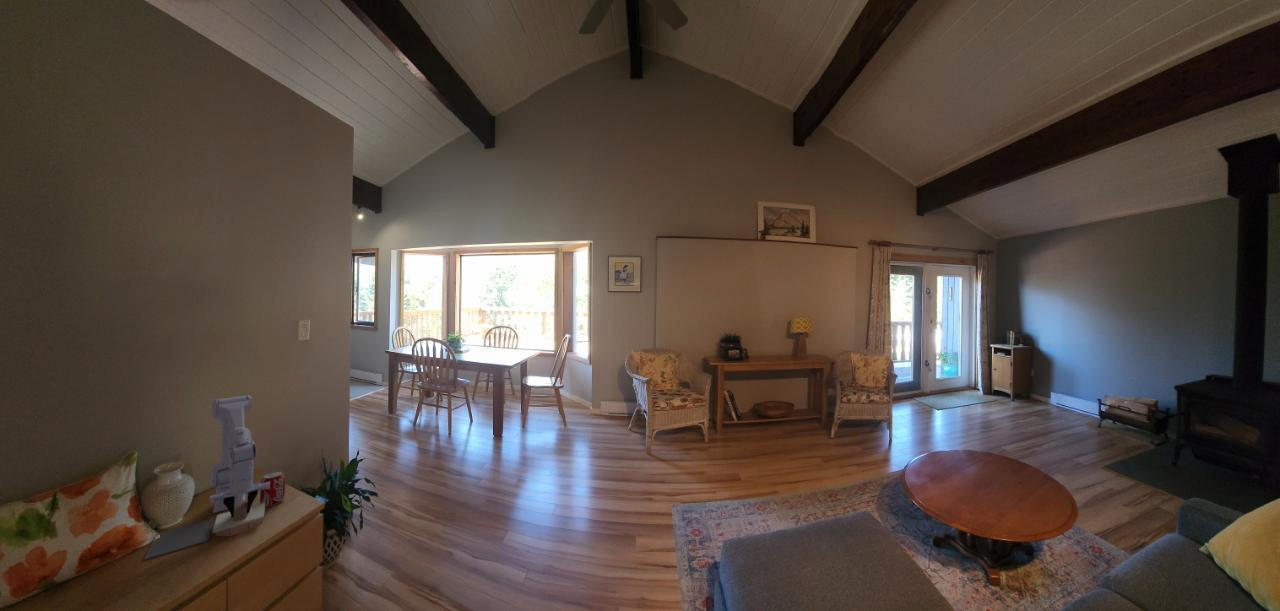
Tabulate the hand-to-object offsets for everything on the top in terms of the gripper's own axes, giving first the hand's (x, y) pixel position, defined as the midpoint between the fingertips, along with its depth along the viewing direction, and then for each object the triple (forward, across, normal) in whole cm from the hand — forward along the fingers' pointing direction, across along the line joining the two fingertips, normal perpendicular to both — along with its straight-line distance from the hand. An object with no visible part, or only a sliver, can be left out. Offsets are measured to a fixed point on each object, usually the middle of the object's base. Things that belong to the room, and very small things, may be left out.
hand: (240, 514), depth 128 cm
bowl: (+4, 0, 0) cm, 4 cm away
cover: (+1, 0, 0) cm, 1 cm away
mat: (+4, -14, +3) cm, 15 cm away
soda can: (+5, +8, +12) cm, 15 cm away
